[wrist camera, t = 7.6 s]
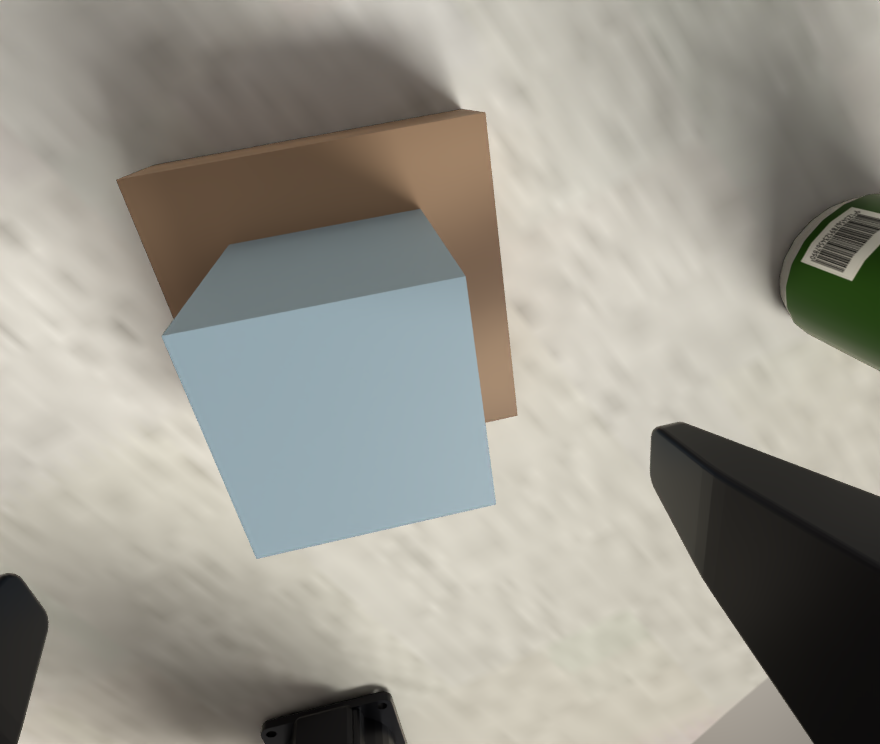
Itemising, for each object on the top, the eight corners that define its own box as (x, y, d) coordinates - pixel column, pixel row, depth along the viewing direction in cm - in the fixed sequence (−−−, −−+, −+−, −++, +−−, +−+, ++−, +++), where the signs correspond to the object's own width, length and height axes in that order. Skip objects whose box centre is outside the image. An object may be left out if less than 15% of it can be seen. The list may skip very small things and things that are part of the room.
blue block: (447, 374, 17) (496, 504, 12) (283, 408, 16) (256, 558, 11) (420, 208, 14) (465, 275, 9) (229, 244, 14) (161, 336, 9)
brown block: (494, 373, 21) (517, 415, 18) (252, 426, 20) (239, 477, 17) (462, 109, 16) (485, 112, 14) (154, 165, 16) (116, 180, 13)
